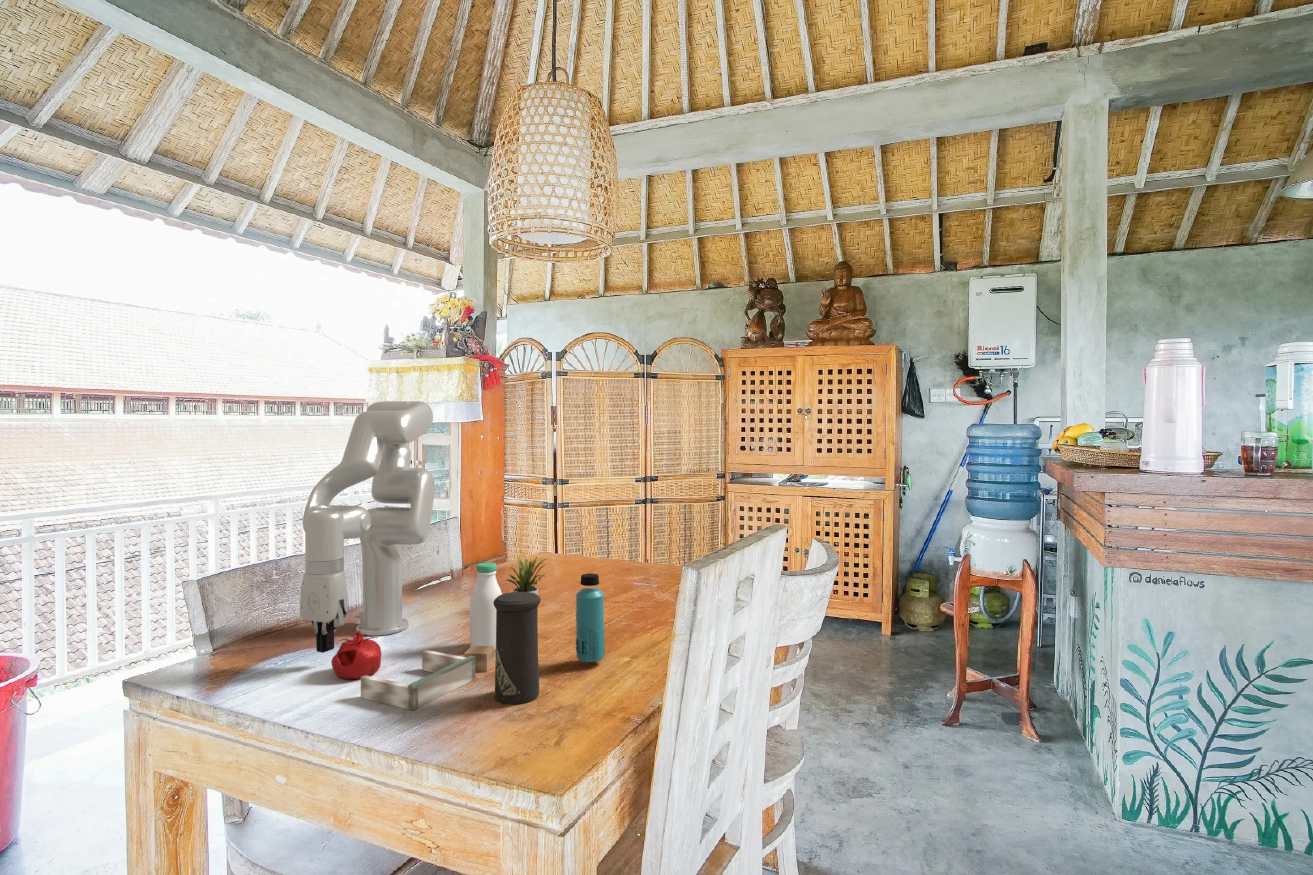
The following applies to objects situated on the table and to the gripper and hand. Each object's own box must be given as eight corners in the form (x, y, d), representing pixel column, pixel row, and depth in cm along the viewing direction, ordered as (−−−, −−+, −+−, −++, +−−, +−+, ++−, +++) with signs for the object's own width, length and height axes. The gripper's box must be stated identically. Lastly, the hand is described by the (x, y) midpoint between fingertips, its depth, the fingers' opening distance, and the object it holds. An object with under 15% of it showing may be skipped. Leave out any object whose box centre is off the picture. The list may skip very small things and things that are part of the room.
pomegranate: (371, 663, 146) (372, 621, 146) (389, 674, 139) (390, 630, 139) (324, 673, 139) (324, 630, 139) (340, 686, 132) (341, 640, 132)
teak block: (464, 671, 141) (464, 653, 141) (472, 663, 146) (471, 645, 146) (486, 672, 140) (486, 653, 140) (494, 664, 145) (493, 646, 145)
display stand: (360, 697, 127) (360, 674, 127) (426, 668, 142) (426, 647, 142) (413, 710, 121) (413, 685, 121) (475, 678, 137) (475, 656, 137)
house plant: (565, 609, 189) (565, 552, 189) (532, 620, 177) (532, 560, 177) (529, 602, 197) (528, 547, 196) (494, 612, 185) (494, 555, 185)
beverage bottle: (609, 660, 147) (609, 572, 147) (597, 670, 141) (597, 578, 141) (583, 657, 149) (583, 569, 149) (570, 667, 143) (570, 576, 143)
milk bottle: (494, 653, 152) (494, 568, 151) (463, 651, 153) (463, 566, 153) (508, 643, 159) (508, 561, 159) (479, 641, 161) (479, 560, 160)
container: (497, 687, 132) (497, 589, 131) (542, 686, 132) (542, 588, 132) (490, 705, 123) (489, 600, 123) (538, 704, 124) (538, 599, 124)
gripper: (286, 567, 143) (286, 650, 143) (333, 573, 136) (334, 661, 137) (316, 560, 150) (317, 640, 150) (363, 566, 143) (363, 650, 143)
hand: (325, 650), depth 143 cm, fingers closed
